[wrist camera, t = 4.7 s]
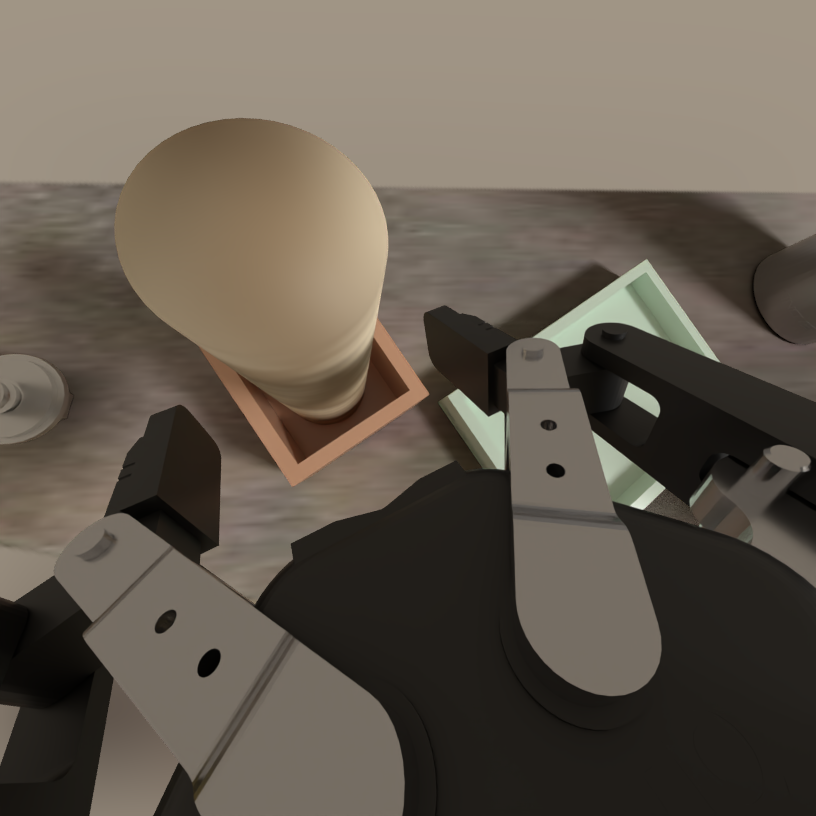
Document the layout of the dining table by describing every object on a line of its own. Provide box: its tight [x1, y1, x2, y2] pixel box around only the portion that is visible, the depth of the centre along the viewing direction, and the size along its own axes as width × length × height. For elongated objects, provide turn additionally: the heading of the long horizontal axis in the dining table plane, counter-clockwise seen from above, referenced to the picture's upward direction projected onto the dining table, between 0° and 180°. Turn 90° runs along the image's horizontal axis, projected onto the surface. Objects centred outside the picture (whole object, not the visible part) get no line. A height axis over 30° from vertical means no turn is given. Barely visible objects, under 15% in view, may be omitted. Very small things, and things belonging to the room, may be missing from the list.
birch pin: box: [114, 118, 388, 425], centre depth 13 cm, size 5×5×15 cm
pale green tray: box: [438, 259, 719, 510], centre depth 24 cm, size 20×14×2 cm
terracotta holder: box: [199, 318, 429, 487], centre depth 19 cm, size 9×9×5 cm
